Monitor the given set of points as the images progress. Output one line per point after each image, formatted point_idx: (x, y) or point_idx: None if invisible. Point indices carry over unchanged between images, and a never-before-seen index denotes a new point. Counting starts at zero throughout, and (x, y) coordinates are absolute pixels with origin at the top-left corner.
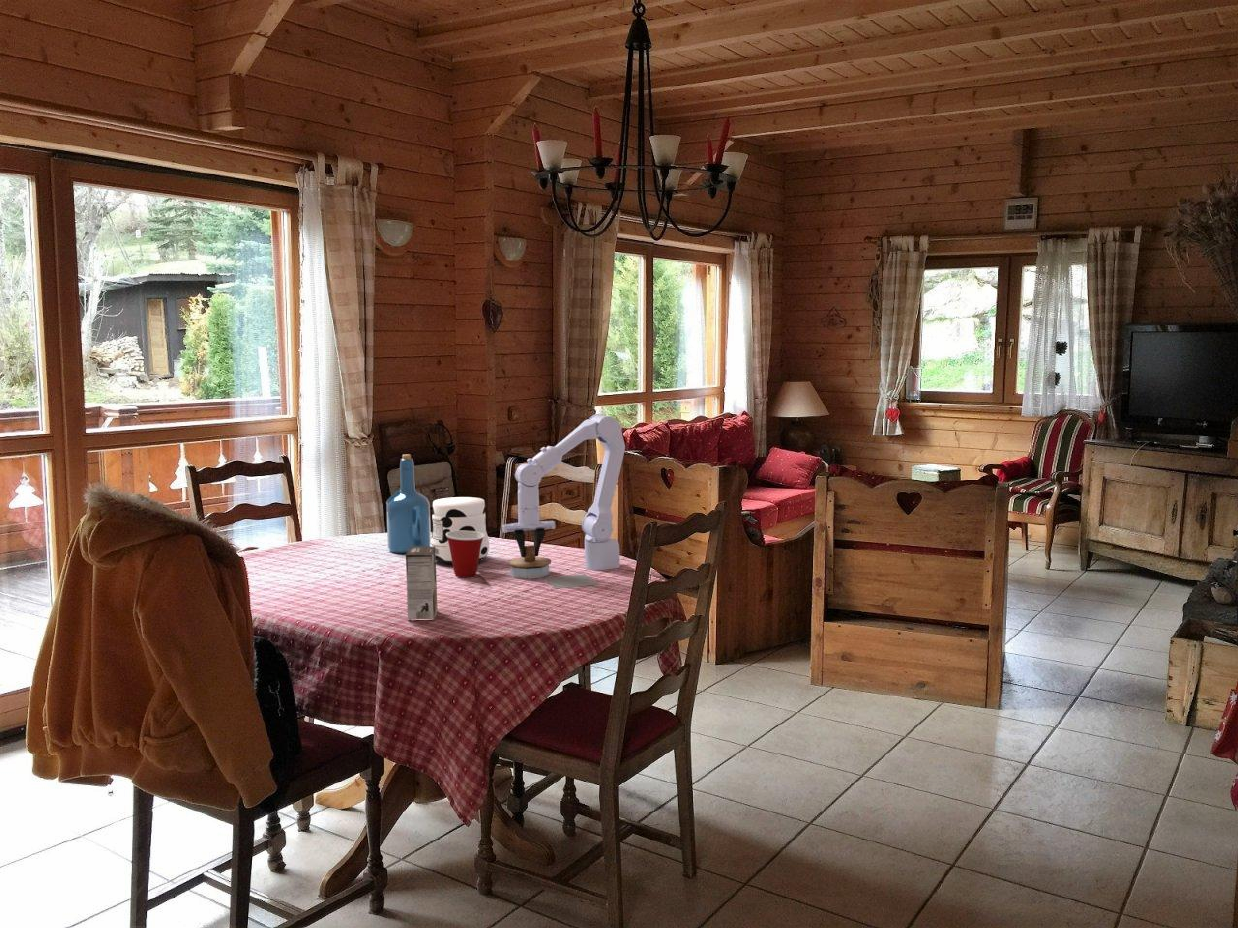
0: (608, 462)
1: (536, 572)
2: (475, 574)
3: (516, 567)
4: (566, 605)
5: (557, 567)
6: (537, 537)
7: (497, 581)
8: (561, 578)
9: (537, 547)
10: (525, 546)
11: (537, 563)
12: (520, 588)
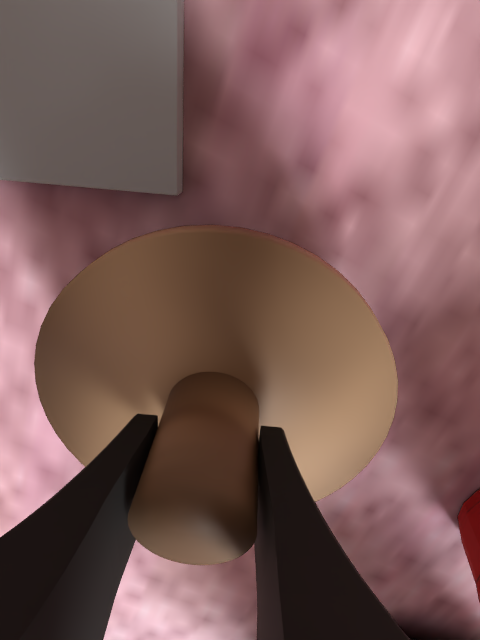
0: None
1: None
2: (478, 495)
3: None
4: None
5: (28, 462)
6: (38, 603)
7: (448, 337)
8: (38, 110)
9: (110, 471)
10: (238, 538)
11: (194, 252)
12: (424, 52)
